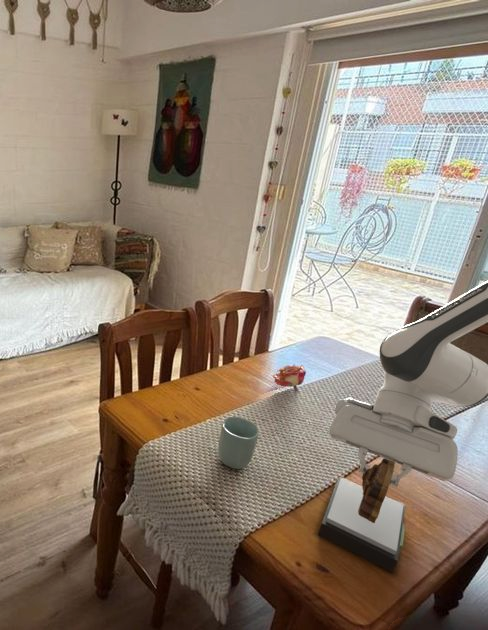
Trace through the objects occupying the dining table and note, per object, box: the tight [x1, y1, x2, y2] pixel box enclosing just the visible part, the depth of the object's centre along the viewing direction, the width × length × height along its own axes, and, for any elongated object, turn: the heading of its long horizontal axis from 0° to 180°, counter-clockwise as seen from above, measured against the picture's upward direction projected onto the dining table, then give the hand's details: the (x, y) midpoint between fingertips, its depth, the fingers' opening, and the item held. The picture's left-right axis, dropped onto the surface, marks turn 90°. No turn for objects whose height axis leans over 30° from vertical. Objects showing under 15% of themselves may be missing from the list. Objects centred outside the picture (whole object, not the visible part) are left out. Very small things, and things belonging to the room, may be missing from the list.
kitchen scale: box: [317, 477, 406, 573], centre depth 86 cm, size 12×16×4 cm
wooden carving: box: [358, 458, 396, 523], centre depth 83 cm, size 16×5×10 cm, turn 143°
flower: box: [272, 363, 307, 392], centre depth 132 cm, size 10×9×8 cm
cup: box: [217, 416, 260, 470], centre depth 101 cm, size 8×8×10 cm
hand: (377, 479), depth 84 cm, fingers closed on wooden carving, 3 cm apart
